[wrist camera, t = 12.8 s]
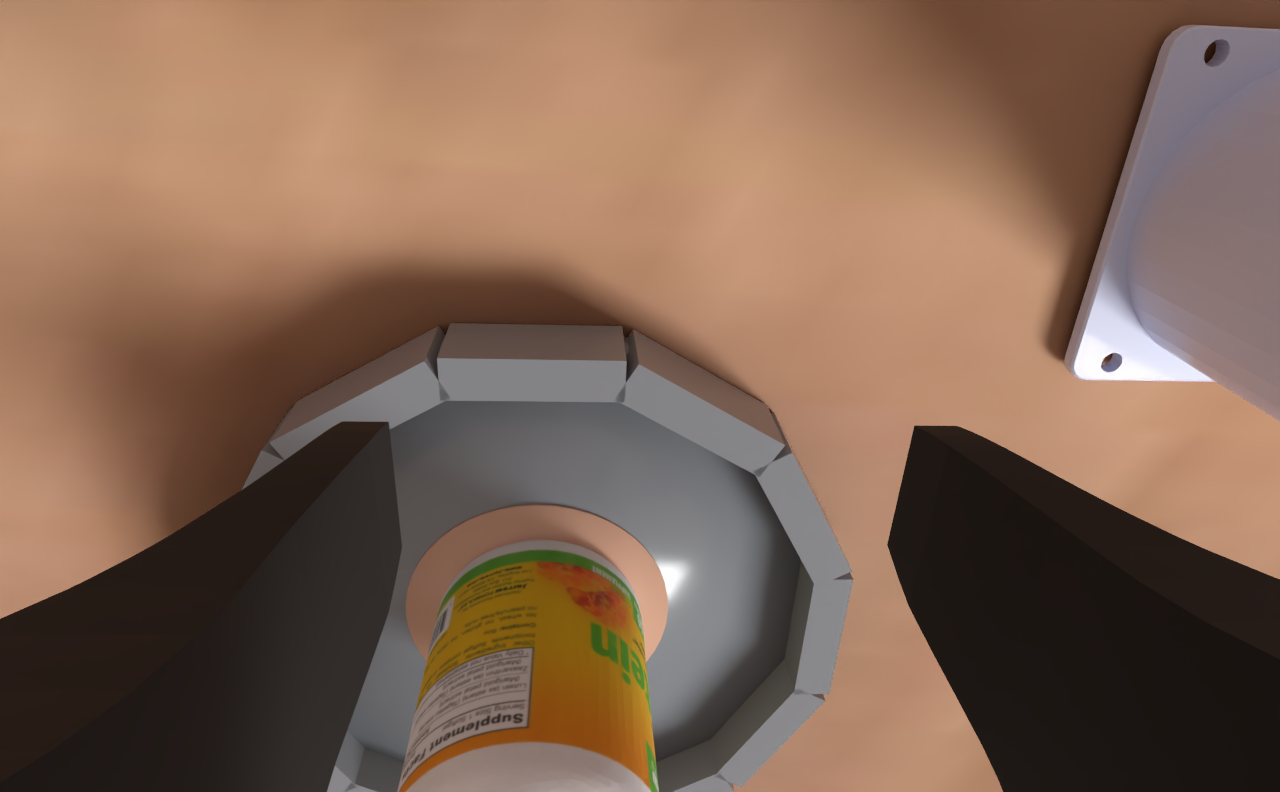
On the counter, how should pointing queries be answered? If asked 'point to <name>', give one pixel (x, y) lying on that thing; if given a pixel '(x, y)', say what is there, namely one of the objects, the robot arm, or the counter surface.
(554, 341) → the round tray
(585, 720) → the supplement bottle
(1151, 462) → the counter surface
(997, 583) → the robot arm
